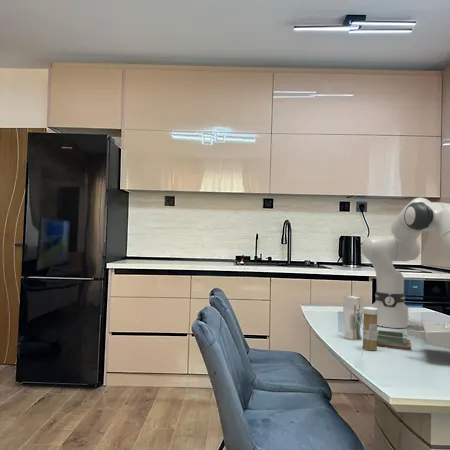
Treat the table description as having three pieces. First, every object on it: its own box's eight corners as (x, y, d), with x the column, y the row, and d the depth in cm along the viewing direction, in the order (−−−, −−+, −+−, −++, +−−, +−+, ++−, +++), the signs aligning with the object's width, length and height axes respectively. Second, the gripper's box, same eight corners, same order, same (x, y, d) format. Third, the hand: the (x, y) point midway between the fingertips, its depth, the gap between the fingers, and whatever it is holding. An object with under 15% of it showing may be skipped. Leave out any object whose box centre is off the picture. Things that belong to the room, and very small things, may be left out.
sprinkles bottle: (360, 347, 140) (360, 306, 140) (373, 347, 140) (374, 306, 141) (366, 350, 135) (366, 308, 136) (379, 351, 135) (380, 308, 136)
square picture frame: (371, 338, 155) (371, 328, 155) (410, 342, 150) (410, 332, 150) (369, 345, 143) (369, 335, 143) (411, 350, 138) (411, 339, 138)
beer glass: (338, 336, 156) (339, 295, 157) (354, 335, 158) (355, 295, 159) (350, 340, 149) (351, 298, 150) (366, 340, 152) (367, 298, 152)
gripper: (452, 319, 138) (406, 315, 143) (461, 330, 119) (407, 325, 125) (452, 338, 138) (406, 334, 143) (460, 352, 119) (407, 346, 124)
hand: (407, 329), depth 134 cm, fingers open, 8 cm apart
